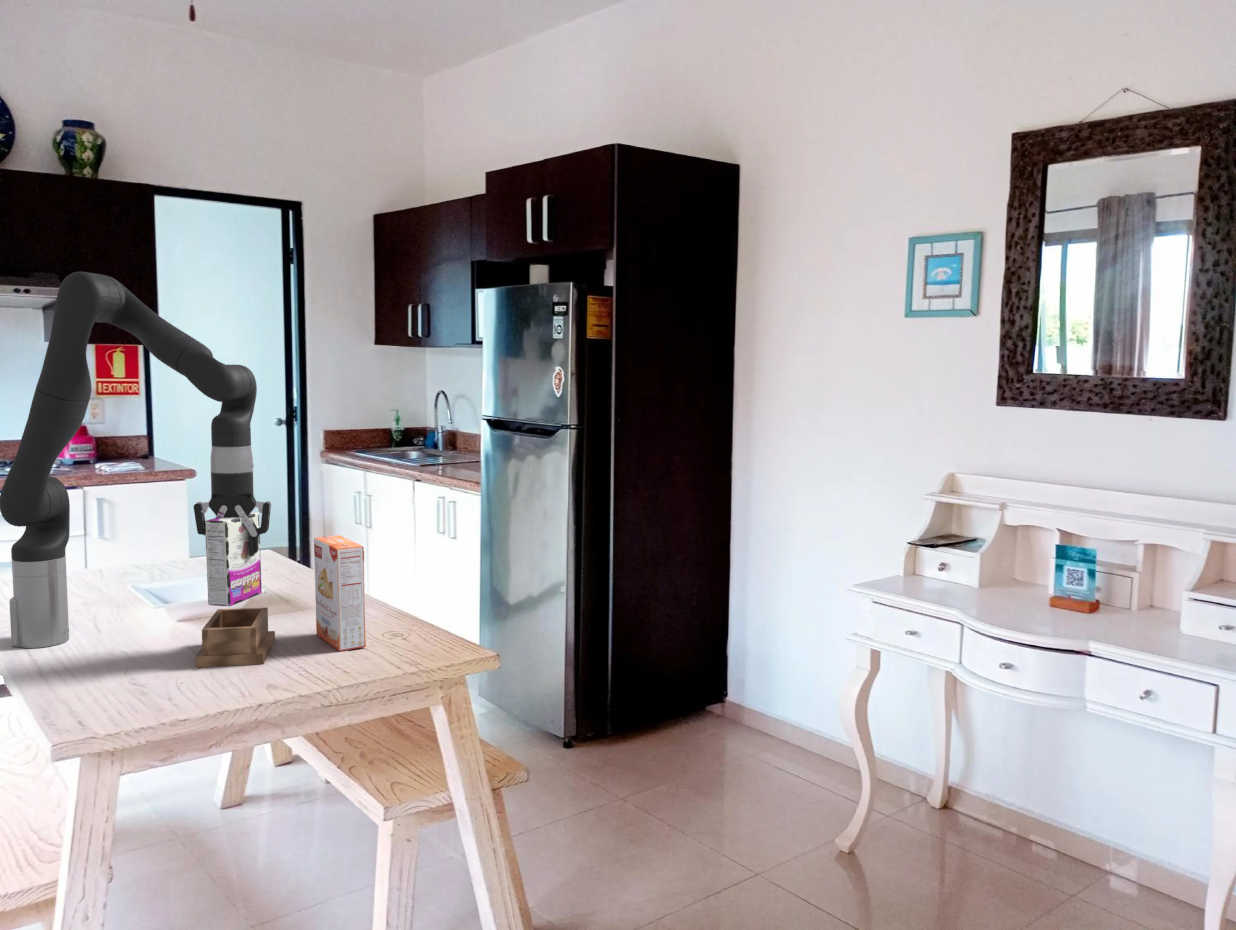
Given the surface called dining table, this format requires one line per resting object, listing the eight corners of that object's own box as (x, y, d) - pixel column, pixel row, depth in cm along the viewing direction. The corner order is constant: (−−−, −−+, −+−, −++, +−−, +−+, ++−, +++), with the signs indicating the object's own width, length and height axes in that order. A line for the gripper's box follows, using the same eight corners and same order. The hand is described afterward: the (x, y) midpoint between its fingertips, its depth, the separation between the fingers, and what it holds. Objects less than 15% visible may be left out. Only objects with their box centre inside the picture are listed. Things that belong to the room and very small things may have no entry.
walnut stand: (195, 667, 179) (194, 630, 179) (212, 643, 195) (211, 609, 194) (263, 663, 182) (262, 627, 181) (275, 640, 197) (274, 606, 197)
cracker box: (314, 636, 201) (312, 536, 199) (342, 631, 205) (341, 534, 203) (337, 652, 190) (335, 547, 188) (366, 647, 193) (365, 544, 191)
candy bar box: (239, 592, 193) (238, 511, 192) (262, 593, 192) (261, 512, 191) (205, 605, 182) (203, 519, 181) (229, 607, 181) (227, 520, 180)
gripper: (187, 471, 180) (189, 560, 181) (268, 471, 183) (270, 558, 184) (195, 467, 187) (198, 552, 189) (274, 467, 190) (275, 551, 192)
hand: (234, 555), depth 186 cm, fingers closed on candy bar box, 6 cm apart
